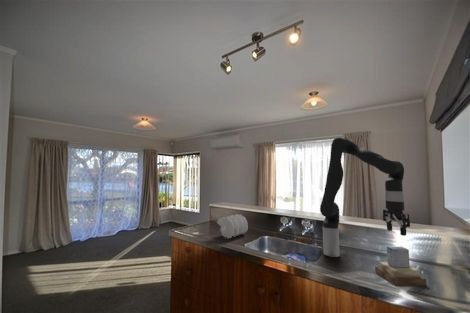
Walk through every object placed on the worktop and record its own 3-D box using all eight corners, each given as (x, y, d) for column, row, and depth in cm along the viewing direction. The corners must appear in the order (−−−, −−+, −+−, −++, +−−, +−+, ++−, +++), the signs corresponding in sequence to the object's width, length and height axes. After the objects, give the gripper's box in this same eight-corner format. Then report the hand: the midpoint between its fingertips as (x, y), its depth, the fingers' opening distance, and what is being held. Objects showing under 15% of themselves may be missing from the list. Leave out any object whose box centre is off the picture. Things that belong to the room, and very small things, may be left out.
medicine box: (402, 264, 105) (401, 246, 106) (410, 268, 101) (408, 249, 102) (387, 264, 105) (386, 246, 106) (394, 268, 101) (392, 249, 102)
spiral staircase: (245, 238, 181) (227, 244, 161) (231, 227, 191) (212, 231, 172) (254, 220, 178) (236, 224, 158) (239, 209, 189) (220, 211, 169)
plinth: (375, 272, 109) (374, 260, 110) (401, 272, 110) (400, 260, 110) (396, 286, 95) (395, 272, 96) (426, 286, 96) (425, 272, 96)
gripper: (413, 201, 99) (416, 237, 97) (390, 198, 113) (392, 229, 112) (398, 201, 99) (400, 237, 97) (377, 198, 113) (378, 229, 111)
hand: (396, 232), depth 104 cm, fingers open, 8 cm apart
